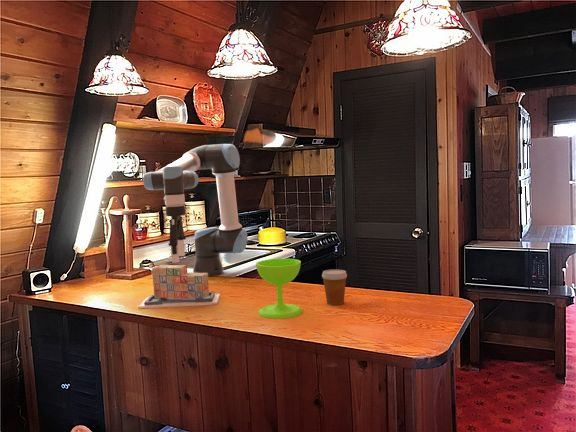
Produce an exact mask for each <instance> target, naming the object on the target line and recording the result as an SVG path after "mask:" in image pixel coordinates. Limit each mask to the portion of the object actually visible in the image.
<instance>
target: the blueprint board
mask: <svg viewBox="0 0 576 432" xmlns="http://www.w3.org/2000/svg"><path fill="white" fill-rule="evenodd" d="M215 292H216V291H209V296H207V297H205V298H204V299H180V298H154V294H150V295H149V296H148V297H146V298H145V299H144V300H143V301H142V302H140V304H139V305H138V307H137V308H138V309H150V308H151V309H159V308H174V307H175V308H176V307H195V306H212V305H213V306H216V305H218V303H219V300H220V297H221V293H215Z"/></svg>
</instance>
